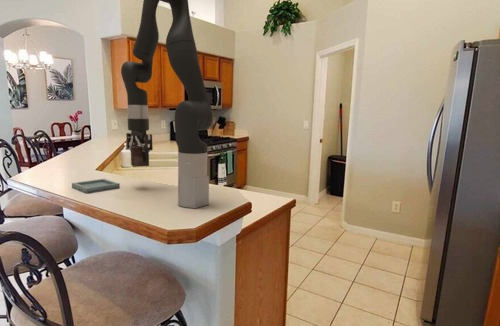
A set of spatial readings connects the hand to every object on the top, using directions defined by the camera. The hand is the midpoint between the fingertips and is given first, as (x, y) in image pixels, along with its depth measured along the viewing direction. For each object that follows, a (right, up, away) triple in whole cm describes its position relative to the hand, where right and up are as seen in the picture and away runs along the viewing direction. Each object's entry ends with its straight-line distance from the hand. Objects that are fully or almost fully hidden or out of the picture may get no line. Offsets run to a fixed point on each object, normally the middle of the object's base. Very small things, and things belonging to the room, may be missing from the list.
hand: (139, 161), depth 119 cm
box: (0, -2, 0) cm, 2 cm away
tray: (-17, -10, +1) cm, 20 cm away
